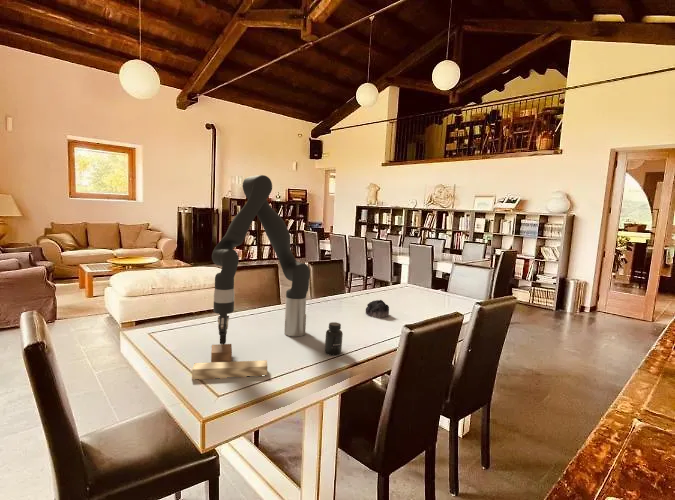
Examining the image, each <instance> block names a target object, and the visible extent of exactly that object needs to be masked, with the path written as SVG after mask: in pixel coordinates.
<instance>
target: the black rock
mask: <svg viewBox="0 0 675 500" xmlns="http://www.w3.org/2000/svg"><path fill="white" fill-rule="evenodd" d="M365 314H366V315H367V314H368V315H367V316H369V315H370V317H372V316H373V317H372V318H379V317H380V318H386V317H389V315H390V306H389V305H388V304H386V302H385V301H384V300H382V299H377V300H372V301H369V303H367V304H366V308H365Z"/></svg>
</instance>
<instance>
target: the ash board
mask: <svg viewBox="0 0 675 500" xmlns="http://www.w3.org/2000/svg"><path fill="white" fill-rule="evenodd" d="M262 375H267V376H268V360H267V359H266V360H241V361H240V360H239V361H232V362H211V361H210V362H195V363H194V364H193V366H192V369H191V380H192V381H196V380H195V379H199V380H214V379H215V378H220V379H228V378H227V377H241V378H247V377H246V376H262ZM262 377H263V376H262ZM215 380H216V379H215Z"/></svg>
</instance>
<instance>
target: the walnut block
mask: <svg viewBox="0 0 675 500" xmlns="http://www.w3.org/2000/svg"><path fill="white" fill-rule="evenodd" d="M232 348H233V347H232V343H226V344H220V343H219V344H212V345H211V352H210V363H211V362H233V361H232V359H233V357H232V356H233V351H232V350H233V349H232Z"/></svg>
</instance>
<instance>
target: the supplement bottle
mask: <svg viewBox="0 0 675 500" xmlns="http://www.w3.org/2000/svg"><path fill="white" fill-rule="evenodd" d="M341 327H342V324H341V323H340V322H333V321H332V322H329V323H328V329H327V330H326V331H325V338H324V339H325V341H324V353H325V354H327V355H328V354H329V356H339V355H340V354H342V348H343V331H342V330H341V329H342V328H341Z"/></svg>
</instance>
